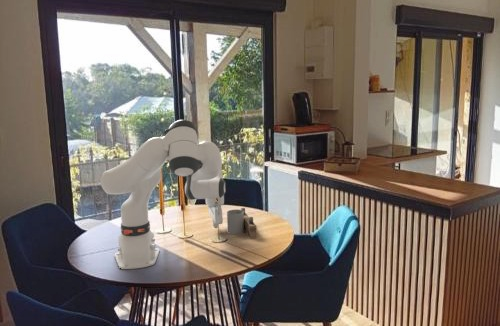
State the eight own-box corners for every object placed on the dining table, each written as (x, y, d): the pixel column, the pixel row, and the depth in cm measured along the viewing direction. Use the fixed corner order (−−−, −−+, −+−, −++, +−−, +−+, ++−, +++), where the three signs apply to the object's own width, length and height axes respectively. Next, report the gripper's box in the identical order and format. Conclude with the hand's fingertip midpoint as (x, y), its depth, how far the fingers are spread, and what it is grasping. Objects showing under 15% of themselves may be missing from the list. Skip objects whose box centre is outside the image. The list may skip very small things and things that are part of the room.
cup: (247, 230, 200) (247, 211, 199) (237, 235, 194) (236, 215, 192) (234, 227, 206) (234, 208, 204) (224, 231, 199) (223, 212, 197)
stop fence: (256, 237, 190) (256, 219, 188) (250, 238, 189) (250, 220, 188) (244, 222, 213) (244, 206, 211) (238, 223, 212) (238, 206, 210)
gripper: (225, 205, 185) (226, 233, 188) (217, 194, 205) (218, 220, 207) (211, 206, 184) (212, 235, 186) (205, 195, 203) (206, 221, 206)
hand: (215, 227), depth 197 cm, fingers closed
